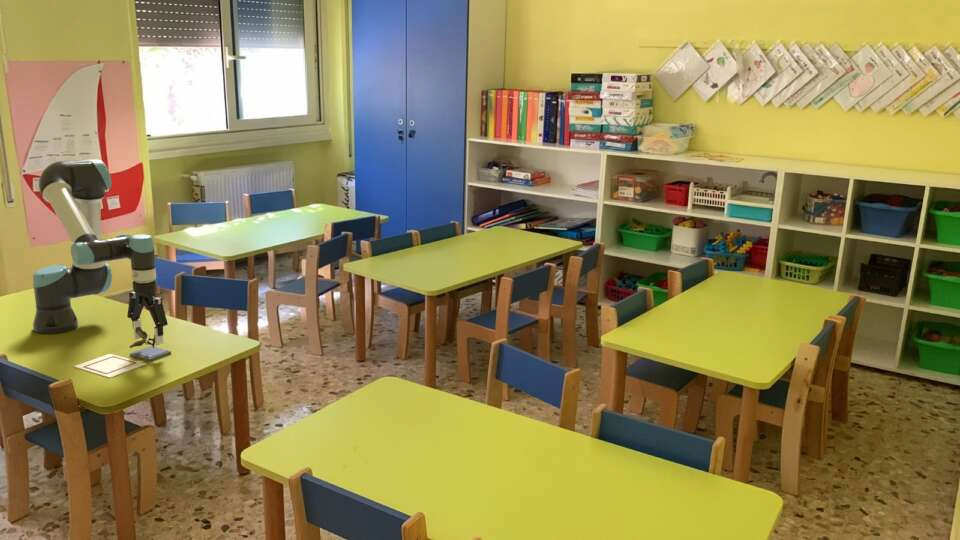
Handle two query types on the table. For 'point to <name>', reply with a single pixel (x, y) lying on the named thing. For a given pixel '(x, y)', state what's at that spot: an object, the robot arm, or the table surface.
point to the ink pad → (150, 353)
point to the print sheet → (109, 365)
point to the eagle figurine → (145, 338)
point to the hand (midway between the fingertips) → (148, 341)
